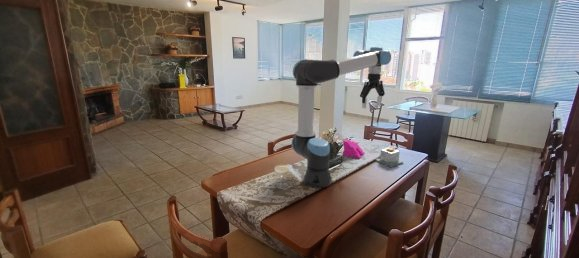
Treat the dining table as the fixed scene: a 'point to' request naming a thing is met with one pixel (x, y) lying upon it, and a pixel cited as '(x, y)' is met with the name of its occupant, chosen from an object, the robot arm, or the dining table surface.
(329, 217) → the dining table surface
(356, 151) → the magenta faceted rock
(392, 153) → the white hollow square block
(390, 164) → the keeper
